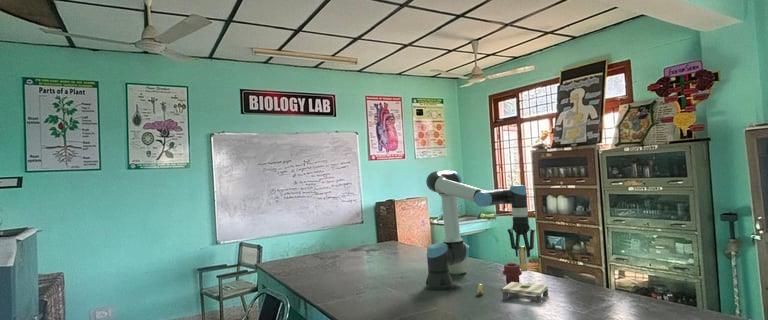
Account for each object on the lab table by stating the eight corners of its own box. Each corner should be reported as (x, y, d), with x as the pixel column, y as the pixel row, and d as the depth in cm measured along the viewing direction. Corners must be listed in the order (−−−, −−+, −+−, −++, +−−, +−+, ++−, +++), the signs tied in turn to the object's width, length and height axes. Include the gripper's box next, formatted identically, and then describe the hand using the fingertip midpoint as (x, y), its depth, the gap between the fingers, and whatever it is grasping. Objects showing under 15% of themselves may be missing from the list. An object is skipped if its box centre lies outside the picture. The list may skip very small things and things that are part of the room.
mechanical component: (521, 283, 235) (523, 288, 226) (502, 283, 237) (504, 288, 228) (520, 261, 236) (522, 265, 226) (501, 261, 238) (502, 265, 228)
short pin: (476, 294, 220) (476, 284, 220) (478, 293, 222) (478, 283, 222) (482, 295, 218) (481, 285, 218) (484, 293, 221) (483, 284, 221)
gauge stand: (503, 298, 210) (502, 288, 210) (512, 291, 222) (511, 281, 222) (540, 303, 200) (539, 292, 200) (548, 295, 211) (547, 285, 211)
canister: (439, 270, 278) (437, 238, 278) (466, 268, 280) (463, 236, 280) (446, 277, 260) (443, 242, 260) (474, 274, 262) (472, 240, 262)
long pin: (520, 271, 211) (518, 246, 211) (522, 269, 213) (520, 245, 214) (526, 271, 209) (524, 247, 209) (528, 270, 211) (526, 246, 212)
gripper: (501, 216, 214) (505, 263, 213) (534, 217, 204) (537, 266, 204) (507, 215, 220) (510, 260, 219) (538, 215, 211) (542, 263, 210)
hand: (523, 263), depth 211 cm, fingers closed on long pin, 3 cm apart
